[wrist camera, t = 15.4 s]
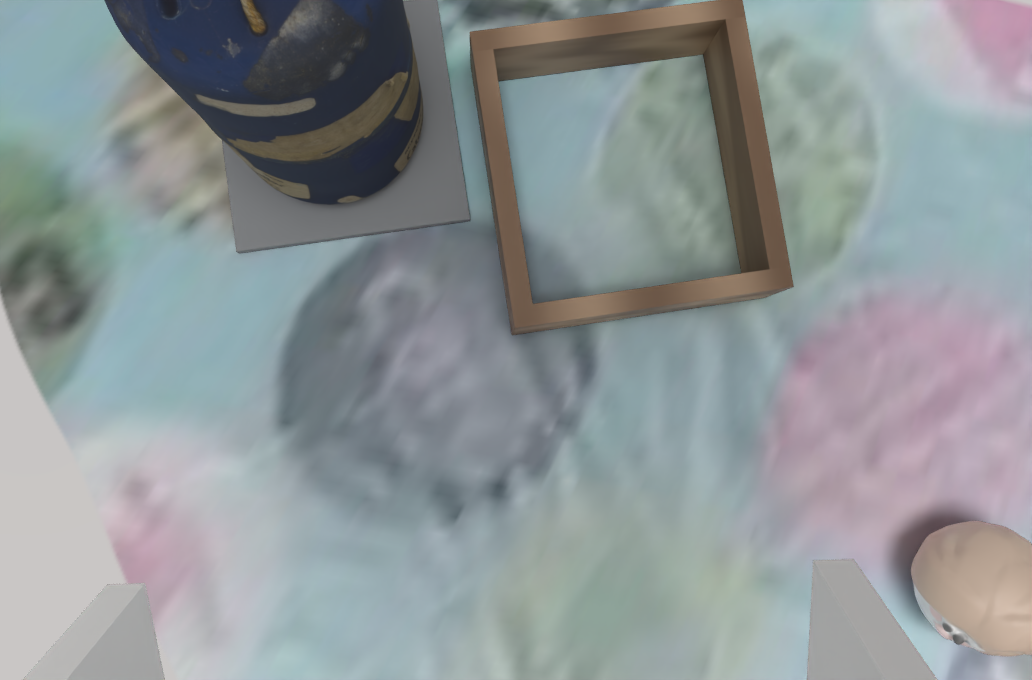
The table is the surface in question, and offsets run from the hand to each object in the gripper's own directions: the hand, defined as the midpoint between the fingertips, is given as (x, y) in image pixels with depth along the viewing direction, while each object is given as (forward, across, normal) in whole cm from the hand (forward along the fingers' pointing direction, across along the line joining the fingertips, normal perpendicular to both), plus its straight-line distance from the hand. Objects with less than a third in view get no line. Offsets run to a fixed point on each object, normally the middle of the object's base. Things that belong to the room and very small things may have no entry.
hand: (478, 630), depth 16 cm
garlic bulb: (+24, +22, -15) cm, 36 cm away
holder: (+30, +6, +6) cm, 31 cm away
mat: (+30, -9, +9) cm, 33 cm away
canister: (+30, -9, +9) cm, 32 cm away
